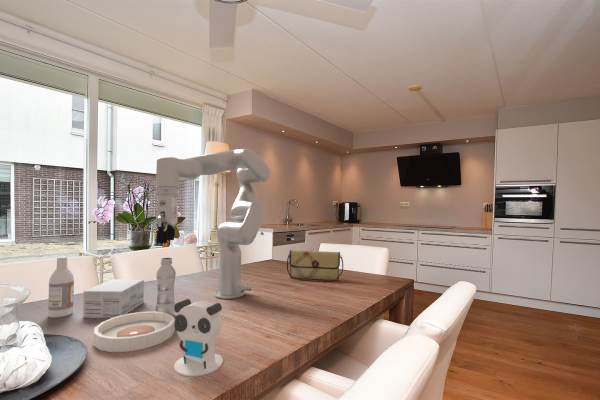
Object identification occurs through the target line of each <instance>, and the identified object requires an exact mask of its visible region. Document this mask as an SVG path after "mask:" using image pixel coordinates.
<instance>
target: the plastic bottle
mask: <svg viewBox="0 0 600 400" xmlns="http://www.w3.org/2000/svg"><path fill="white" fill-rule="evenodd" d="M172 264H173V258H172V257H162V258H160V266H159V268H158V269H157V271H156V274H155V277H156V284H157V285H156V286H157V298H156V303H155V309H154V310H155V312H164V313H168V314H170V315H173V316H174V314H175V313H176V312H175V310H174V306H175V304H176V302H175V293H174V292H175V281H176V275H177V273H176V269H175V268H174V267H173V265H172Z"/></svg>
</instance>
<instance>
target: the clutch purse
mask: <svg viewBox="0 0 600 400" xmlns="http://www.w3.org/2000/svg"><path fill="white" fill-rule="evenodd" d="M341 264H342V265H341ZM289 265H290V266H289ZM340 266H341V272H340ZM289 268H290V269H289ZM286 270H287V273H288V275H289V277H290V279H295V280H298V281H303V282H313V283H332V282H335V281H340V279H339V277H340V276H341V275H342V273H343V272H344V260H343V255H341V251H321V250H319V251H318V250H317V251H316V250H293V249H292V250H291V249H290V250H289V253H288V256H287V259H286ZM289 270H290V271H289ZM317 280H318V281H317ZM319 280H320V281H319ZM321 280H322V281H321Z"/></svg>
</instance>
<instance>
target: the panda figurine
mask: <svg viewBox="0 0 600 400" xmlns="http://www.w3.org/2000/svg"><path fill="white" fill-rule="evenodd" d="M222 309H223V308H222V304H221V303H219V302H216V303H214V304H213V303H211V302H207V301H201V300H199V301H195V302H191V299H189V298H185V299H183V300H181V301H178V302H175V306H174V310H175V312H174V313H176V316H175V317H174V319H175V322H174V327H175V332H176V333H177V335H178V337H179V338H180V340H181V341H180V342H179V348H180V349H181V350H182V351H183V356H181V357H180V358H179V359H177V360H176V361H175V363H174V366H173V370H174V371H175V372H176V373H177V374H179V375H180V376H184V377H199V376H200V377H201V376H205V375H208V374H211V373H213V372H215V371H217V370H218V369H219V368H220V367H222V365H223V357H222V356H221V354H218V353H217V352H216V338H217V337H218V336H219V334H220V332H221V330H222V318H221V317H222V316H221V313H220V312H221V311H222Z"/></svg>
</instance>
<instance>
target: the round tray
mask: <svg viewBox="0 0 600 400" xmlns="http://www.w3.org/2000/svg"><path fill="white" fill-rule="evenodd" d="M174 322H175V317H174V314H173V315H170V314H168V313H164V312H156V311H137V312H131V313H130V312H129V313H127V314H125V315H121V316H117V317H113V318H108V319H106V320H104V321H101V322H100V323H99V324H97V325H96V326H95V327H94V331H93V347H94V348H95V349H98V350H99V351H103V352H109V353H123V352H125V353H126V352H133V351H140V350H144V349H145V350H146V349H148V348H150V347H154V346H156V345H160V344H162V343H164V342H165V341H167V340H170V338H172V337H173V335H174V333H175V332H176V330H175V327H174Z"/></svg>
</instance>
